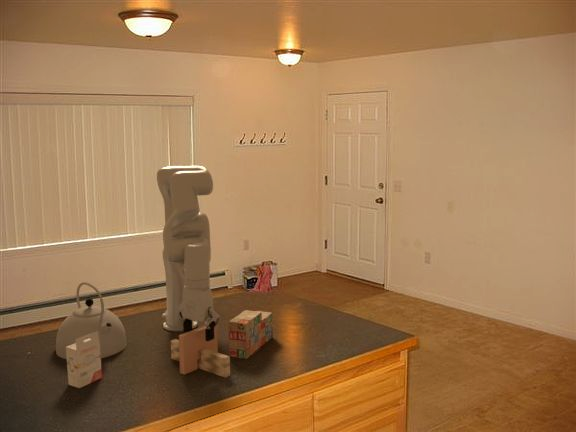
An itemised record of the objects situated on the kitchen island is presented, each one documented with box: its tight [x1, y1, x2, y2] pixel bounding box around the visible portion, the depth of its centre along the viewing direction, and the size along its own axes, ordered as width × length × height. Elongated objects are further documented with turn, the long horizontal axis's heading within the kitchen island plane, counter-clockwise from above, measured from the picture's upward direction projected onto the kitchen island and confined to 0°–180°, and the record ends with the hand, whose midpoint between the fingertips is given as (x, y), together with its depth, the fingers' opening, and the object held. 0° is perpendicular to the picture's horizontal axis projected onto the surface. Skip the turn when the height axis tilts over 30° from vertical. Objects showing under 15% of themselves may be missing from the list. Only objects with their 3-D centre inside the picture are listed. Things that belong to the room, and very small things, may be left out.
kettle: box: [55, 281, 127, 360], centre depth 199 cm, size 25×23×23 cm
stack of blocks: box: [228, 309, 274, 360], centre depth 201 cm, size 21×6×12 cm, turn 158°
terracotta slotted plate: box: [178, 324, 219, 375], centre depth 185 cm, size 2×14×12 cm, turn 141°
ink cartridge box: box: [66, 332, 103, 389], centre depth 174 cm, size 9×5×15 cm, turn 148°
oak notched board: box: [170, 338, 231, 379], centre depth 185 cm, size 24×2×6 cm, turn 52°
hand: (198, 336), depth 184 cm, fingers open, 9 cm apart
